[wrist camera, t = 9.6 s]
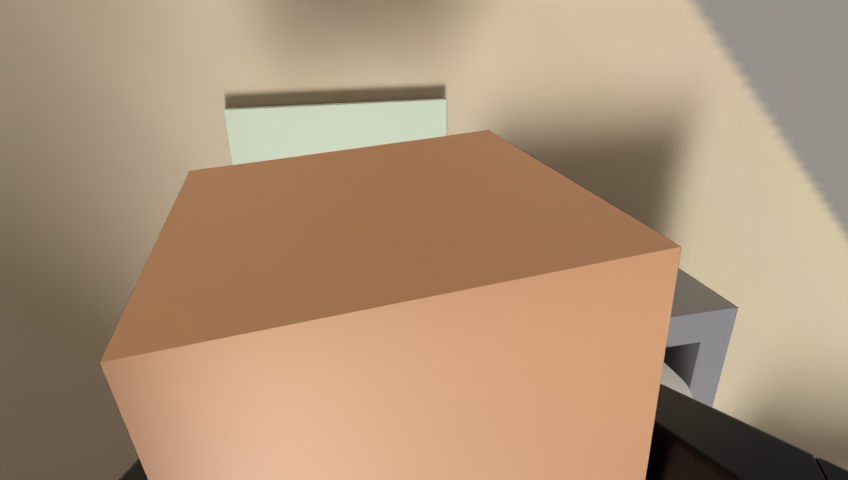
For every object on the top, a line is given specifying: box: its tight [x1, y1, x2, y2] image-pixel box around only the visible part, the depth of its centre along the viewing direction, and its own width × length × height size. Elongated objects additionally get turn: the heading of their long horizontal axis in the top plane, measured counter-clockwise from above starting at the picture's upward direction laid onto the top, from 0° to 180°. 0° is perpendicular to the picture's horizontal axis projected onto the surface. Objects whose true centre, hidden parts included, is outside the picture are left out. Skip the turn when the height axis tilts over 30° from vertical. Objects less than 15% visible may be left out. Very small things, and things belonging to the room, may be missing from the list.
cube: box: [100, 130, 681, 480], centre depth 8 cm, size 5×5×5 cm
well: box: [664, 268, 738, 407], centre depth 18 cm, size 7×7×4 cm
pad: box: [224, 98, 447, 165], centre depth 16 cm, size 6×6×1 cm
